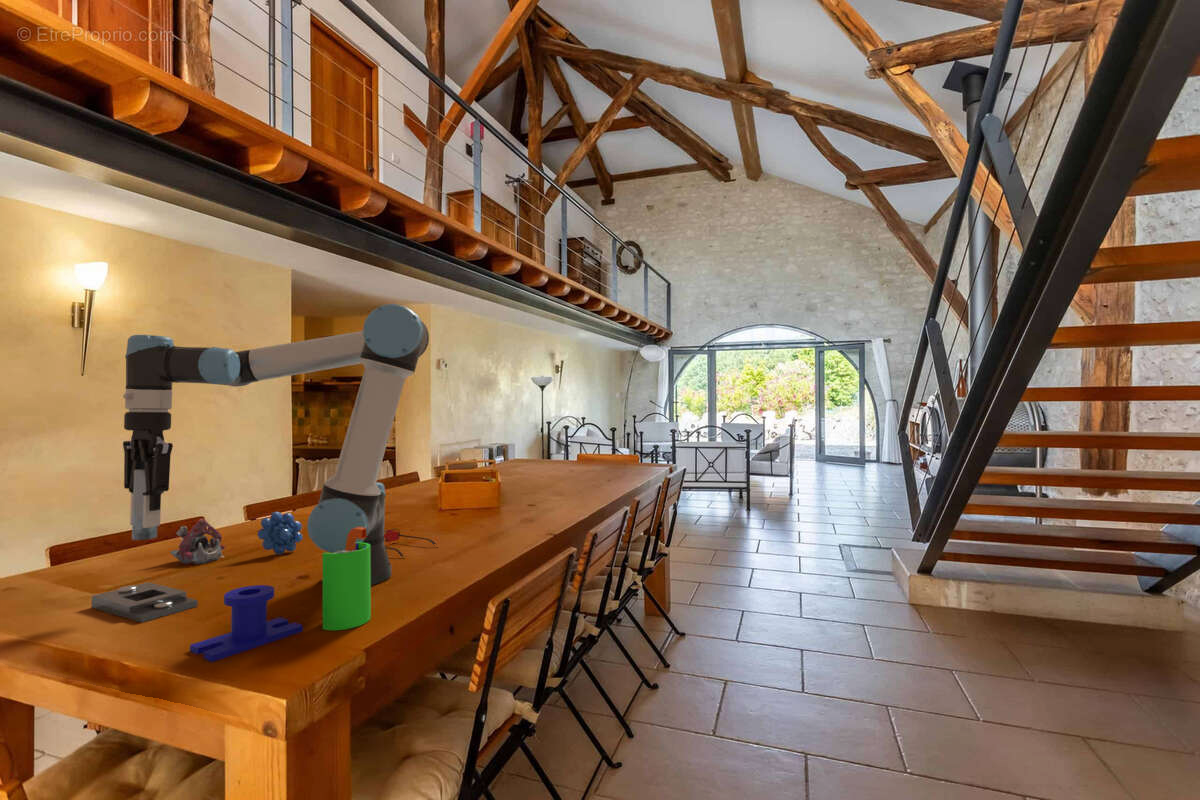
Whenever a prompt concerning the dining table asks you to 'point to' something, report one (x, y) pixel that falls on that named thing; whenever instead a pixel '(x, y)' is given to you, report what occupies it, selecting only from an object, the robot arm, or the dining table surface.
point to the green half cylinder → (347, 584)
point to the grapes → (280, 532)
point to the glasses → (395, 535)
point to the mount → (246, 624)
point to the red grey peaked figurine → (198, 544)
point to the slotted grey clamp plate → (143, 601)
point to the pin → (140, 508)
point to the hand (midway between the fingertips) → (145, 525)
